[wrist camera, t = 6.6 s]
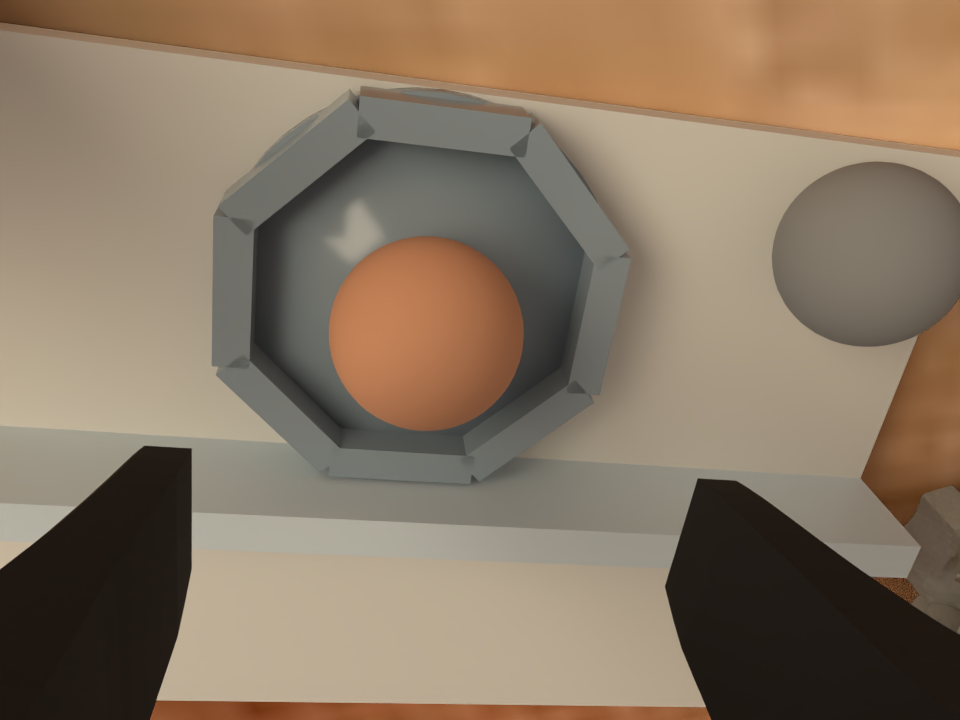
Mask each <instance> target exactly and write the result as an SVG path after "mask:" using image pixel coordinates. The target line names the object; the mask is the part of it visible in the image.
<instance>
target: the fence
mask: <svg viewBox="0 0 960 720" xmlns="http://www.w3.org/2000/svg"><path fill="white" fill-rule="evenodd" d="M143 446H160V447H177V448H192V549H203V550H227V551H252V552H276V553H301V554H326V555H350V556H375V557H399V558H424V559H449V560H473V561H498V562H522V563H547V564H572V565H596V566H621V567H645V568H671V564H672V561H673V558H674V555H675V551H676V548H677V545H678V541H679V538H680V535H681V532H682V528H683V525H684V522H685V518H686V515H687V512H688V509H689V505H690V502H691V499H692V496H693V492H694V489H695V486H696V482H697V479H698V478H700V479H717V480H734V481H738V482H740V483H741V484H743V485H744V486H746V487H748V488H749V489H751V490H752V491H754V492H755V493H757V494H758V495H759V496H761V497H762V498H764V499H765V500H767V501H768V502H769V503H771V504H772V505H773V506H775V507H776V508H778V509H779V510H780V511H782V512H783V513H784V514H786V515H787V516H788V517H790V518H791V519H792V520H794V521H795V522H796V523H798V524H799V525H800V526H802V527H803V528H804V529H806V530H807V531H808V532H810V533H811V534H812V535H814V536H815V537H816V538H818V539H819V540H820V541H822V542H823V543H824V544H826V545H827V546H829V547H830V548H831V549H833V550H834V551H835V552H837V553H838V554H839V555H841V556H842V557H843V558H845V559H846V560H848V561H849V562H850V563H852V564H853V565H855V566H856V567H857V568H859V569H860V570H862V571H863V572H864V573H866V574H867V575H869V576H870V577H891V578H907V577H908V574H909V572H910V570H911V568H912V566H913V563H914V561H915V559H916V557H917V555H918V553H919V550H920V548H921V546H920V545H919V544H918V543H917V542H916V541H915V539H914V538H913V537H912V536H911V535H910V534H909V533H908V532H907V530H906V529H905V528H904V527H903V526H902V525H901V524H900V522H899V521H898V520H897V519H896V518H895V517H894V516H893V515H892V513H891V512H890V511H889V510H888V509H887V508H886V507H885V506H884V504H883V503H882V502H881V501H880V500H879V499H878V498H877V497H876V495H875V494H874V493H873V492H872V491H871V490H870V489H869V487H868V486H867V485H866V484H865V483H864V482H863V481H862V480H861V478H846V477H829V476H813V475H797V474H781V473H764V472H748V471H732V470H716V469H699V468H683V467H667V466H650V465H634V464H618V463H602V462H585V461H569V460H553V459H537V458H520V457H515V458H513V459H512V460H510V461H509V462H507V463H506V464H504V465H503V466H501V467H500V468H499V469H497V470H496V471H494V472H493V473H491V474H490V475H488V476H487V477H485V478H484V479H483V480H481V481H480V482H479V481H478V480H477V479H476V478H475V477H474V476H473V475H472V476H471V482H470V484H457V483H439V482H421V481H403V480H385V479H367V478H349V477H331V476H329V467H327V468H326V469H324V470H323V471H322V472H320V473H319V472H318V471H317V470H316V469H315V468H314V467H313V466H312V465H311V464H310V463H309V462H308V461H307V460H306V459H304V458H303V457H302V456H301V455H300V454H299V453H298V452H297V451H296V450H295V449H294V448H293V447H292V446H291V445H290V444H288V443H276V442H260V441H244V440H227V439H211V438H195V437H178V436H162V435H146V434H130V433H113V432H97V431H81V430H64V429H48V428H32V427H16V426H0V541H6V542H30V543H35V542H36V541H37V540H38V539H40V538H41V537H42V536H43V535H44V534H46V533H47V532H48V531H49V530H50V529H51V528H53V527H54V526H55V525H56V524H57V523H58V522H60V521H61V520H62V519H63V518H64V517H65V516H67V515H68V514H69V513H70V512H71V511H72V510H73V509H75V508H76V507H77V506H78V505H79V504H80V503H82V502H83V501H84V500H85V499H86V498H87V497H88V496H89V495H90V494H91V493H93V492H94V491H95V490H96V489H97V488H98V487H99V486H100V485H101V484H102V483H103V482H105V481H106V480H107V479H108V478H109V477H110V476H111V475H112V474H113V473H114V472H115V471H116V470H117V469H118V468H119V467H121V466H122V465H123V464H124V463H125V462H126V461H127V460H128V459H129V458H130V457H131V456H132V455H133V454H134V453H136V452H137V451H138V450H139V449H141V448H142V447H143Z"/></svg>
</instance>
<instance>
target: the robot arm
mask: <svg viewBox="0 0 960 720" xmlns="http://www.w3.org/2000/svg"><path fill="white" fill-rule="evenodd" d="M191 570H192V448H177V447H160V446H143V447H142V448H141V449H139V450H138V451H137V452H136V453H134V454H133V455H132V456H131V457H130V458H129V459H128V460H127V461H126V462H125V463H124V464H123V465H122V466H121V467H119V468H118V469H117V470H116V471H115V472H114V473H113V474H112V475H111V476H110V477H109V478H108V479H107V480H106V481H105V482H103V483H102V484H101V485H100V486H99V487H98V488H97V489H96V490H95V491H94V492H93V493H91V494H90V495H89V496H88V497H87V498H86V499H85V500H84V501H83V502H82V503H80V504H79V505H78V506H77V507H76V508H75V509H73V510H72V511H71V512H70V513H69V514H68V515H67V516H65V517H64V518H63V519H62V520H61V521H60V522H58V523H57V524H56V525H55V526H54V527H53V528H51V529H50V530H49V531H48V532H47V533H46V534H44V535H43V536H42V537H41V538H40V539H38V540H37V541H36V542H35V543H33V544H32V545H31V546H29V547H28V548H27V549H26V550H24V551H23V552H22V553H20V554H19V555H18V556H17V557H15V558H14V559H13V560H11V561H10V562H9V563H7V564H6V565H5V566H4V567H2V568H1V569H0V720H150V717H151V714H152V711H153V708H154V706H155V703H156V700H157V697H158V694H159V691H160V688H161V685H162V682H163V679H164V676H165V673H166V670H167V667H168V664H169V661H170V658H171V655H172V652H173V649H174V646H175V643H176V640H177V637H178V633H179V629H180V624H181V619H182V615H183V610H184V605H185V600H186V595H187V590H188V585H189V580H190V575H191ZM665 589H666V593H667V597H668V601H669V605H670V609H671V613H672V617H673V621H674V625H675V628H676V631H677V635H678V638H679V642H680V645H681V648H682V651H683V653H684V656H685V658H686V661H687V663H688V666H689V668H690V670H691V673H692V675H693V678H694V680H695V682H696V685H697V687H698V689H699V692H700V694H701V696H702V699H703V701H704V703H705V706H706V708H707V710H708V713H709V715H710V717H711V720H960V634H958V633H956V632H954V631H953V630H951V629H949V628H948V627H946V626H944V625H943V624H941V623H939V622H938V621H936V620H935V619H933V618H931V617H930V616H928V615H927V614H925V613H923V612H922V611H920V610H919V609H917V608H916V607H914V606H913V605H911V604H910V603H908V602H907V601H905V600H904V599H902V598H901V597H899V596H898V595H896V594H895V593H893V592H892V591H890V590H889V589H887V588H886V587H884V586H883V585H881V584H880V583H879V582H877V581H876V580H874V579H873V578H871V577H870V576H869V575H867V574H866V573H864V572H863V571H862V570H860V569H859V568H857V567H856V566H855V565H853V564H852V563H850V562H849V561H848V560H846V559H845V558H843V557H842V556H841V555H839V554H838V553H837V552H835V551H834V550H833V549H831V548H830V547H829V546H827V545H826V544H824V543H823V542H822V541H820V540H819V539H818V538H816V537H815V536H814V535H812V534H811V533H810V532H808V531H807V530H806V529H804V528H803V527H802V526H800V525H799V524H798V523H796V522H795V521H794V520H792V519H791V518H790V517H788V516H787V515H786V514H784V513H783V512H782V511H780V510H779V509H778V508H776V507H775V506H773V505H772V504H771V503H769V502H768V501H767V500H765V499H764V498H762V497H761V496H759V495H758V494H757V493H755V492H754V491H752V490H751V489H749V488H748V487H746V486H744V485H743V484H741V483H740V482H738V481H734V480H717V479H700V478H698V479H697V482H696V486H695V489H694V492H693V496H692V499H691V502H690V505H689V509H688V512H687V515H686V518H685V522H684V525H683V528H682V532H681V535H680V538H679V541H678V545H677V548H676V551H675V555H674V558H673V561H672V564H671V568H670V571H669V574H668V578H667V581H666V584H665Z"/></svg>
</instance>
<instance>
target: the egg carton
mask: <svg viewBox="0 0 960 720" xmlns="http://www.w3.org/2000/svg"><path fill="white" fill-rule="evenodd" d="M904 528H905V529H906V530H907V532H908V533H909V534H910V535H911V536H912V537H913V538H914V539H915V541H916V542H917V543H918V544H919V545H920V546H921V548H920V550H919V553H918V555H917V557H916V559H915V561H914V563H913V566H912V568H911V570H910V572H909V574H908V577H907V578H906V579H907V580H908V581H909V582H910V583H911V584H912V585H913V587H914V588H915V590H916V591H917V592H918V593H919V595H918V597H917V598H916V599H915V600H914V601H913V602H912V603H910V604H911V605H913V606H914V607H916V608H917V609H919V610H920V611H922V612H923V613H925V614H927V615H928V616H930V617H931V618H933V619H935V620H936V621H938V622H939V623H941V624H943V625H944V626H946V627H948V628H949V629H951V630H953V631H954V632H956V633H958V634H960V492H959V491H958V490H957V489H956V488H955V487H954V486H953V485H952V486H947V487H943V488H940V489H937V490H934V491H930V492H927V493H925V494H923V495H922V496H921V499H920V503H919V505H918V508H917V511H916V513H915V514H914V516H913V517H912V519H911V520H910V521H909V522H908V523H907V524H906V525H905V526H904Z"/></svg>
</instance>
